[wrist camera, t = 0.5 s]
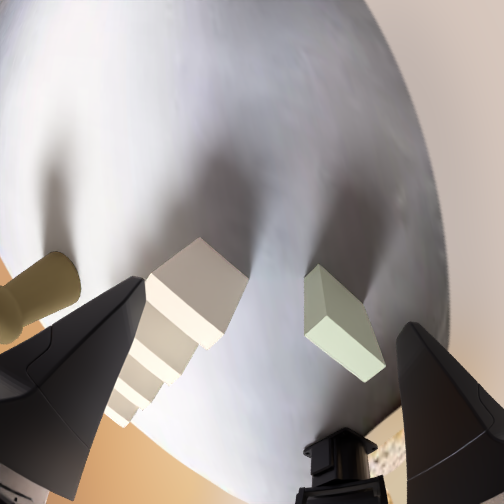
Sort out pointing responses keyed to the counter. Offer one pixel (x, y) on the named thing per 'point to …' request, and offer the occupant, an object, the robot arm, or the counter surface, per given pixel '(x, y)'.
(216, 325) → the domino
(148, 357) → the domino
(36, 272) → the cork
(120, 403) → the domino
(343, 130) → the counter surface
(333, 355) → the sage domino
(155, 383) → the domino
